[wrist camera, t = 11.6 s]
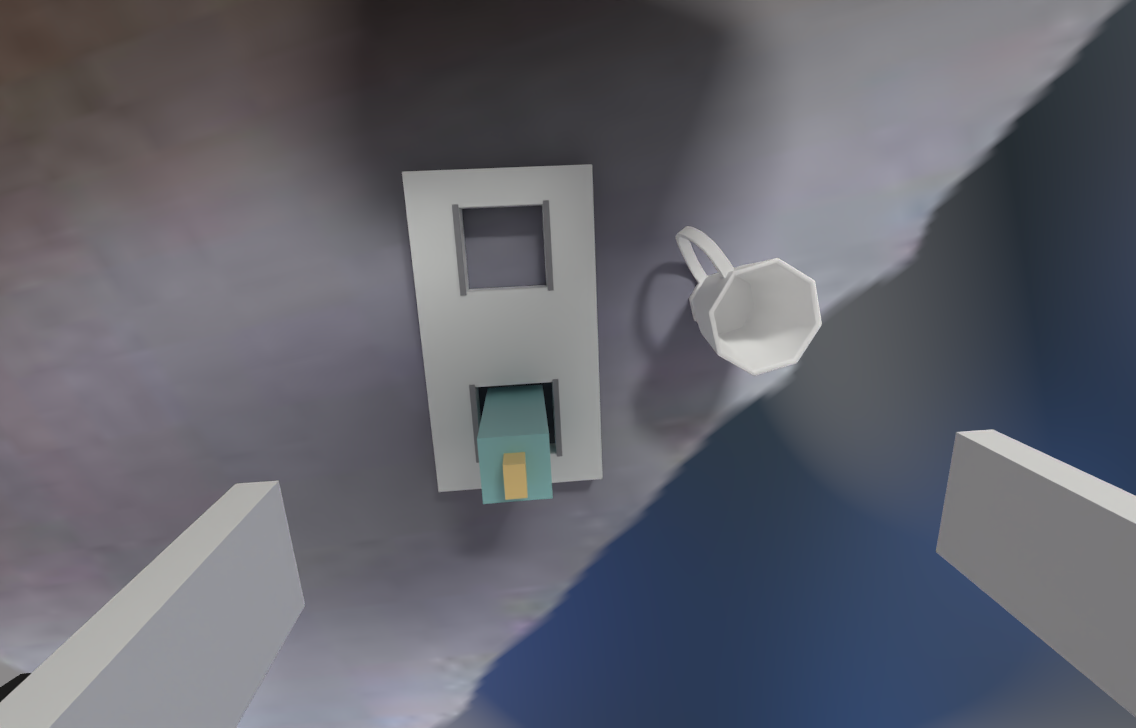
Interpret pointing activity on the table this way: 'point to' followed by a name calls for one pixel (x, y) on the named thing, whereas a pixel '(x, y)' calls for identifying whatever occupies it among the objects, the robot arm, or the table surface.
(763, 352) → the cup
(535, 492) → the plug
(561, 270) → the panel
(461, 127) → the table surface
